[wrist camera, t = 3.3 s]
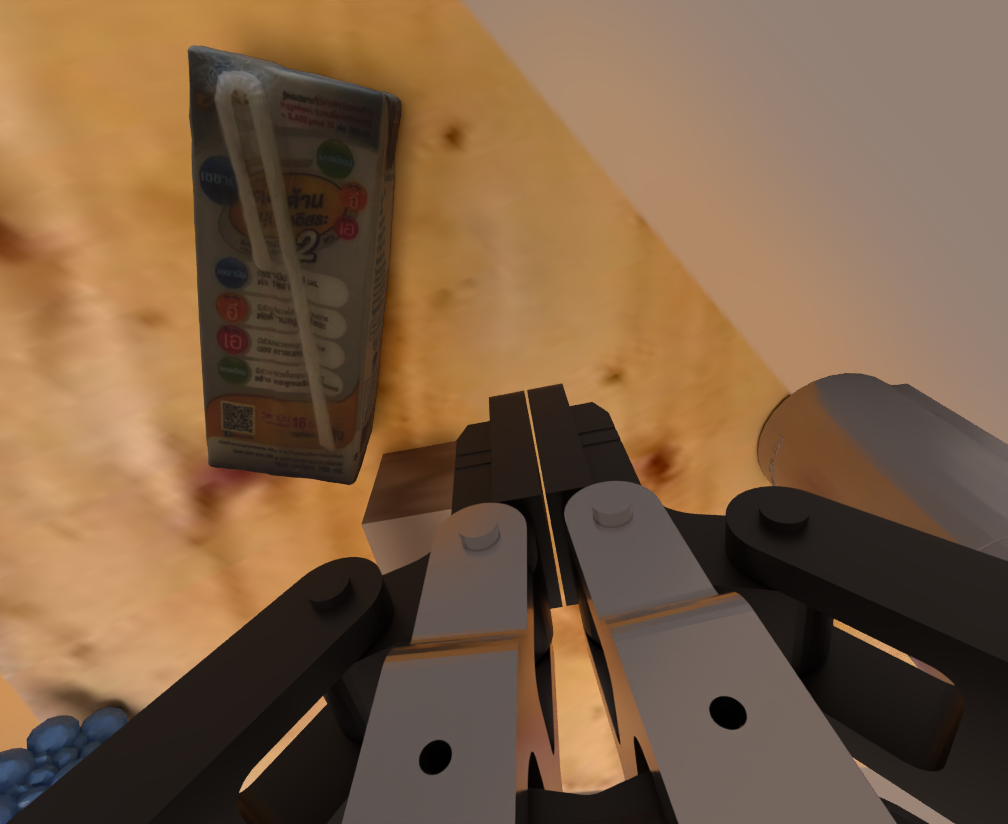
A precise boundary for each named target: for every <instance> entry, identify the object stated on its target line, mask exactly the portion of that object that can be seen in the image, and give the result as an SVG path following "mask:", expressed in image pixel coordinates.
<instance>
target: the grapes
mask: <svg viewBox="0 0 1008 824" xmlns="http://www.w3.org/2000/svg"><path fill="white" fill-rule="evenodd" d="M126 723H128V722H127V715H126V712H125V711H124V710H122V709H121V708H117V707H106V708H103V709H99V710H97V711H96V712H95V713H93V714H92V715H90V716H89V717H88V718H87V719H85V720H84V722H83V724H82V725H81V727H80V725H79V721H78V720H77V719H75V718H74V717H72V716H67V715H62V716H56V717H52V718H49V719H47V720H46V721H44V722H43V723H41V724H40V725H39V726H37V727H36V728H35V729H33V730H32V732H31V733H30V735H29V737H28V738H27V749H23V748H15V749H10V750H6V751H3V752H0V824H6V823H7V822H8V821H9V820H11V819H12V818H13V817H14V816H15V815H17V814H18V813H19V812H20V811H21V810H23V809H24V808H25V807H26V806H27V805H29V804H30V803H31V802H32V801H33V800H35V799H36V798H37V797H38V796H39V795H41V794H42V793H43V792H44V791H46V790H47V789H48V788H49V787H50V786H52V785H53V784H54V783H55V782H56V781H58V780H59V779H60V778H61V777H62V776H64V775H65V774H66V773H67V772H68V771H70V770H71V769H72V768H73V767H74V766H76V765H77V764H78V763H79V762H80V761H82V760H83V759H84V758H85V757H87V756H88V755H89V754H90V753H91V752H93V751H94V750H95V749H96V748H97V747H99V746H100V745H101V744H102V743H103V742H105V741H106V740H107V739H108V738H109V737H111V736H112V735H113V734H114V733H115V732H117V731H118V730H119V729H120V728H121V727H123V726H124V725H125V724H126Z"/></svg>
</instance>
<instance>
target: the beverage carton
mask: <svg viewBox="0 0 1008 824" xmlns="http://www.w3.org/2000/svg"><path fill="white" fill-rule="evenodd" d="M188 60H189V78H190V109H189V120H190V128H191V136H192V179H193V193H194V224H195V242H196V259H197V287H198V305H199V323H200V343H201V359H202V377H203V393H204V408H205V423H206V439H207V447H208V464H209V465H210V466H211V467H215V468H226V469H236V470H246V471H251V472H258V473H266V474H269V475H275V476H285V477H295V478H309V479H316V480H321V481H326V482H333V483H341V484H347V485H351V484H353V483H354V482H355V481H356V479H357V477H358V474H359V471H360V469H361V466H362V462H363V459H364V455H365V452H366V449H367V445H368V442H369V438H370V435H371V431H372V424H373V418H374V410H375V402H376V392H377V385H378V374H379V364H380V353H381V341H382V331H383V323H384V310H385V298H386V291H387V279H388V270H389V258H390V245H391V229H392V214H393V199H394V182H395V150H396V142H397V136H398V130H399V123H400V117H401V102H400V100H399V98H398V97H396V96H395V95H393V94H391V93H388V92H382V91H377V90H372V89H369V88H366V87H363V86H360V85H357V84H353V83H348V82H344V81H340V80H336V79H332V78H329V77H325V76H322V75H318V74H314V73H309V72H303V71H297V70H292V69H289V68H285V67H283V66H281V65H279V64H277V63H275V62H271V61H268V60H263V59H257V58H254V57H250V56H246V55H243V54H238V53H232V52H227V51H221V50H217V49H213V48H209V47H205V46H191V47H190V48H189V49H188Z"/></svg>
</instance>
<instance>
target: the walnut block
mask: <svg viewBox="0 0 1008 824" xmlns="http://www.w3.org/2000/svg"><path fill="white" fill-rule="evenodd" d="M456 442H457V441H455V442H449V443H444V444H438V445H432V446H427V447H421V448H416V449H410V450H404V451H399V452H393V453H387V454H383V457H382V460H381V463H380V467H379V470H378V473H377V476H376V479H375V483H374V486H373V489H372V492H371V496H370V499H369V502H368V505H367V508H366V512H365V515H364V518H363V521H362V527H363V529H364V532H365V534H366V537H367V539H368V542H369V545H370V547H371V550H372V552H373V555H374V557H375V560H376V562H377V565H378V567H379V569H380V571H381V573H382V575H384V574H387V573H389V572H391V571H394V570H396V569H398V568H401V567H403V566H406V565H408V564H410V563H412V562H415V561H417V560H419V559H420V558H422V557H424V556H425V555H427V554H428V553H429V552H431V549H432V544H433V539H434V536H435V533H436V531H437V530H438V528H439V527H440V525H441V524H442V523H443V522H444V521H445V520H446V519H447V518H448V517H450V516H451V510H452V496H453V483H454V472H455V459H456Z"/></svg>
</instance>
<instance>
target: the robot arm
mask: <svg viewBox="0 0 1008 824" xmlns="http://www.w3.org/2000/svg"><path fill="white" fill-rule="evenodd" d="M527 392H528V398H529V403H530V409H531V415H532V420H533V426H534V431H535V437H536V443H537V448H538V454H539V459H540V465H541V471H542V476H543V482H544V487H545V493H546V498H547V504H548V509H549V514H550V520H551V525H552V530H553V536H554V541H555V546H556V552H557V557H558V562H559V568H560V573H561V579H562V584H563V589H564V595H565V600H566V605H567V606H569V605H575V604H579V608H580V613H581V618H582V623H583V628H584V634H585V640H586V645H587V650H588V653H589V657H590V660H591V663H592V667H593V670H594V673H595V677H596V680H597V684H598V687H599V690H600V694H601V697H602V700H603V704H604V707H605V711H606V714H607V717H608V721H609V724H610V727H611V731H612V734H613V737H614V741H615V744H616V748H617V751H618V754H619V758H620V762H621V765H622V769H623V773H624V777H625V781H624V782H622V783H619V784H617V785H615V786H613V787H611V788H609V789H606V790H604V791H602V792H599V793H597V794H593V795H579V794H572V793H565V792H563V790H562V782H561V772H560V757H559V738H558V720H557V701H556V682H555V663H554V651H553V645H552V638H553V625H552V618H551V611H550V609H552V608H558V607H563V606H562V600H561V594H560V589H559V583H558V577H557V571H556V565H555V559H554V554H553V548H552V542H551V536H550V530H549V525H548V519H547V513H546V507H545V501H544V496H543V490H542V484H541V478H540V473H539V467H538V462H537V457H536V451H535V446H534V441H533V435H532V430H531V425H530V419H529V414H528V409H527V404H526V398H525V393H524V391H520V392H514V393H509V394H504V395H498V396H493V397H489V412H490V421H488V422H482V423H477V424H471V425H468V426H467V427H466V428H465V430H464V431H463V432H462V434H461V435H460V436H459V438H458V439H457V442H456V459H455V472H454V483H453V496H452V510H451V516H450V517H448V518H447V519H446V520H445V521H444V522H443V523H442V524H441V525H440V527H439V528H438V530H437V531H436V533H435V536H434V539H433V544H432V549H431V552H429V553H428V554H427V555H425V556H424V557H422V558H420V559H419V560H417V561H415V562H412V563H410V564H408V565H406V566H403V567H401V568H398V569H396V570H394V571H391V572H389V573H387V574H384V575H382V573H381V571H380V569H379V567H378V566H377V565H376V564H375V563H374V562H372V561H370V560H368V559H365V558H360V557H347V558H341V559H337V560H333V561H331V562H328V563H325V564H323V565H321V566H319V567H317V568H315V569H314V570H312V571H311V572H309V573H308V574H306V575H305V576H304V577H302V578H301V579H300V580H299V581H298V582H296V583H295V584H294V585H293V586H292V587H290V588H289V589H288V590H287V591H285V592H284V593H283V594H282V595H281V596H279V597H278V598H277V599H276V600H275V601H273V602H272V603H271V604H270V605H269V606H267V607H266V608H265V609H264V610H263V611H261V612H260V613H259V614H258V615H257V616H255V617H254V618H253V619H252V620H251V621H249V622H248V623H247V624H246V625H244V626H243V627H242V628H241V629H240V630H238V631H237V632H236V633H235V634H234V635H232V636H231V637H230V638H229V639H228V640H226V641H225V642H224V643H223V644H222V645H220V646H219V647H218V648H217V649H216V650H214V651H213V652H212V653H211V654H210V655H208V656H207V657H206V658H205V659H203V660H202V661H201V662H200V663H199V664H197V665H196V666H195V667H194V668H193V669H191V670H190V671H189V672H188V673H187V674H185V675H184V676H183V677H182V678H181V679H179V680H178V681H177V682H176V683H175V684H173V685H172V686H171V687H170V688H169V689H167V690H166V691H165V692H164V693H162V694H161V695H160V696H159V697H158V698H156V699H155V700H154V701H153V702H152V703H150V704H149V705H148V706H147V707H146V708H144V709H143V710H142V711H141V712H140V713H138V714H137V715H136V716H135V717H134V718H132V719H131V720H130V721H129V722H128V723H126V724H125V725H124V726H123V727H121V728H120V729H119V730H118V731H117V732H115V733H114V734H113V735H112V736H111V737H109V738H108V739H107V740H106V741H105V742H103V743H102V744H101V745H100V746H99V747H97V748H96V749H95V750H94V751H93V752H91V753H90V754H89V755H88V756H87V757H85V758H84V759H83V760H82V761H80V762H79V763H78V764H77V765H76V766H74V767H73V768H72V769H71V770H70V771H68V772H67V773H66V774H65V775H64V776H62V777H61V778H60V779H59V780H58V781H56V782H55V783H54V784H53V785H52V786H50V787H49V788H48V789H47V790H46V791H44V792H43V793H42V794H41V795H39V796H38V797H37V798H36V799H35V800H33V801H32V802H31V803H30V804H29V805H27V806H26V807H25V808H24V809H23V810H21V811H20V812H19V813H18V814H17V815H15V816H14V817H13V818H12V819H11V820H9V821H8V822H7V823H6V824H929V823H927V822H925V821H924V820H922V819H920V818H918V817H917V816H915V815H913V814H911V813H910V812H908V811H906V810H905V809H903V808H901V807H899V806H898V805H896V804H894V803H891V802H889V801H887V800H885V799H883V798H880V797H879V796H878V795H877V793H876V792H875V791H874V789H873V787H872V786H871V784H870V783H869V782H868V780H867V779H866V777H865V776H864V774H863V773H862V771H861V770H860V768H859V767H858V765H857V764H856V762H855V761H854V759H853V758H855V759H856V760H858V761H859V762H861V763H862V764H864V765H866V766H867V767H869V768H870V769H872V770H873V771H875V772H876V773H878V774H879V775H881V776H883V777H884V778H886V779H887V780H889V781H890V782H892V783H893V784H895V785H896V786H898V787H899V788H901V789H902V790H904V791H906V792H907V793H909V794H910V795H912V796H913V797H915V798H916V799H918V800H919V801H921V802H922V803H924V804H926V805H927V806H929V807H930V808H932V809H933V810H935V811H936V812H938V813H939V814H941V815H942V816H944V817H946V818H947V819H949V820H950V821H952V822H953V823H955V824H1008V445H1007V444H1006V443H1004V442H1002V441H1001V440H999V439H998V438H996V437H994V436H993V435H991V434H989V433H988V432H986V431H984V430H983V429H981V428H979V427H978V426H976V425H974V424H973V423H971V422H970V421H968V420H966V419H965V418H963V417H961V416H960V415H958V414H956V413H955V412H953V411H951V410H949V409H948V408H946V407H945V406H943V405H941V404H940V403H938V402H937V401H935V400H933V399H932V398H930V397H928V396H927V395H925V394H923V393H921V392H920V391H918V390H917V389H915V388H914V387H912V386H910V385H909V384H901V385H889V384H887V383H885V382H883V381H881V380H879V379H878V378H876V377H872V376H868V375H864V374H855V373H854V374H853V373H852V374H851V373H844V374H838V375H832V376H828V377H825V378H822V379H819V380H817V381H814V382H812V383H810V384H808V385H807V386H804V387H803V388H801V389H799V390H797V391H796V392H795V393H793V394H792V395H791V396H789V397H788V398H787V399H785V400H784V401H783V402H782V403H781V405H780V406H779V407H778V408H777V409H776V410H775V411H774V412H773V414H772V415H771V417H770V418H769V420H768V421H767V423H766V424H765V426H764V429H763V431H762V434H761V436H760V440H759V446H758V459H759V464H760V467H761V469H762V472H763V474H764V475H765V476H766V478H767V479H768V480H769V482H770V483H771V484H772V486H767V487H759V488H754V489H751V490H748V491H745V492H743V493H741V494H739V495H737V496H736V497H735V498H734V499H732V501H731V502H730V503H729V505H728V507H727V509H726V516H722V515H703V514H690V513H684V512H679V511H675V510H672V509H669V508H666V507H664V506H663V505H662V503H661V502H660V500H659V499H658V497H657V496H656V495H655V494H654V493H653V492H652V491H650V490H649V489H647V488H645V487H643V486H641V484H640V482H639V479H638V477H637V475H636V473H635V470H634V468H633V466H632V464H631V462H630V459H629V457H628V455H627V453H626V450H625V448H624V446H623V444H622V442H621V440H620V437H619V435H618V433H617V430H615V426H614V424H613V421H612V419H611V417H610V415H609V413H608V412H607V411H605V410H604V409H602V408H601V407H599V406H598V405H596V404H595V403H593V402H590V403H585V404H579V405H574V406H569V403H568V400H567V397H566V394H565V391H564V388H563V385H562V384H557V385H551V386H546V387H541V388H535V389H530V390H527ZM834 619H836V620H838V621H840V622H842V623H844V624H846V625H848V626H850V627H852V628H854V629H856V630H858V631H860V632H862V633H864V634H867V635H869V636H871V637H873V638H875V639H877V640H879V641H881V642H883V643H885V644H887V645H889V646H891V647H893V648H895V649H897V650H899V651H901V652H903V653H905V654H907V655H908V656H909V657H910V658H911V660H912V661H913V662H914V663H915V664H916V666H917V667H918V668H919V669H918V668H916V667H914V666H912V665H910V664H908V663H906V662H904V661H902V660H900V659H898V658H896V657H894V656H892V655H890V654H888V653H886V652H884V651H882V650H880V649H878V648H876V647H874V646H872V645H870V644H868V643H866V642H864V641H862V640H860V639H858V638H856V637H854V636H852V635H850V634H848V633H847V632H845V631H843V630H841V629H839V628H837V627H835V626H833V620H834ZM322 696H323V697H324V698H325V700H326V702H327V705H326V706H325V707H324V708H323V709H322V710H321V711H320V712H319V713H318V714H317V715H316V716H315V717H314V719H313V720H312V721H311V722H310V723H309V724H308V725H307V726H306V727H305V728H304V729H303V730H302V731H301V732H300V733H299V734H298V735H297V737H296V738H295V739H294V740H293V741H292V742H291V743H290V744H289V745H288V746H287V747H286V748H285V749H284V750H283V751H282V752H281V753H280V754H279V756H278V757H277V758H276V759H275V760H274V761H273V762H272V763H271V764H270V765H269V766H268V767H267V768H266V769H265V770H264V771H263V772H262V774H261V775H260V776H259V777H258V778H257V779H256V780H255V781H254V782H253V783H252V784H251V785H250V786H249V787H248V788H246V789H245V790H244V791H242V792H241V793H239V791H240V789H241V786H242V784H243V782H244V781H245V779H246V777H247V776H248V774H249V773H250V772H251V770H252V769H253V768H254V767H255V766H256V765H257V764H258V762H259V761H260V760H261V759H262V758H263V757H264V756H265V755H266V754H267V753H268V752H269V751H270V750H271V749H272V748H273V747H274V746H275V745H276V744H277V743H278V742H279V741H280V740H281V739H282V738H283V737H284V736H285V734H286V733H287V732H288V731H289V730H290V729H291V728H292V727H293V726H294V725H295V724H296V723H297V722H298V721H299V720H300V719H301V718H302V717H303V716H304V715H305V714H306V713H307V712H308V711H309V710H310V709H311V708H312V706H313V705H314V704H315V703H316V702H317V701H318V700H319V699H320V698H321V697H322ZM852 757H853V758H852Z"/></svg>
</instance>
